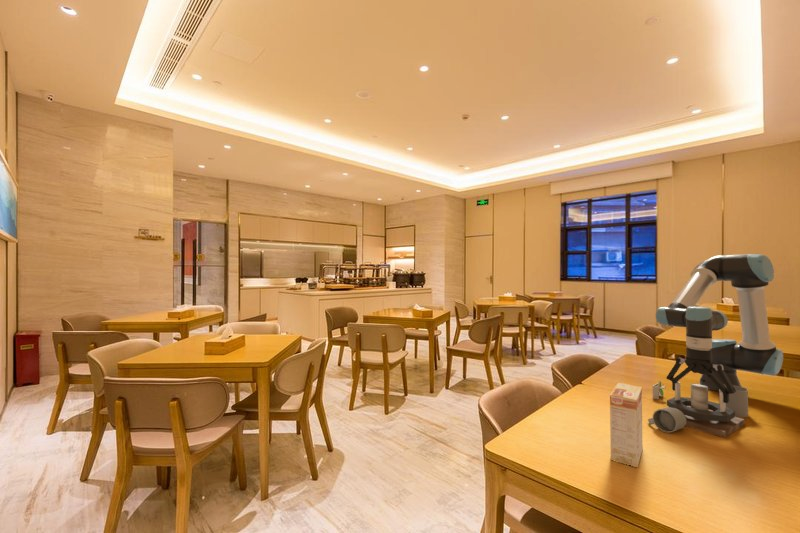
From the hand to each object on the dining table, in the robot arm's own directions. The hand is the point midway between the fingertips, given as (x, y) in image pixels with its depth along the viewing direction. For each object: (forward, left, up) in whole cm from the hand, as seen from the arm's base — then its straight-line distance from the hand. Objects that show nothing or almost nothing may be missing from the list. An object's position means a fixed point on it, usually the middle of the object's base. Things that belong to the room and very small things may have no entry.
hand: (699, 405), depth 134 cm
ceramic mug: (+18, -4, -6) cm, 19 cm away
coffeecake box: (+49, -2, -6) cm, 49 cm away
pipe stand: (0, 0, -6) cm, 6 cm away
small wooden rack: (-16, -20, -7) cm, 26 cm away
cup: (-21, +4, -6) cm, 22 cm away
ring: (0, 0, -2) cm, 2 cm away
